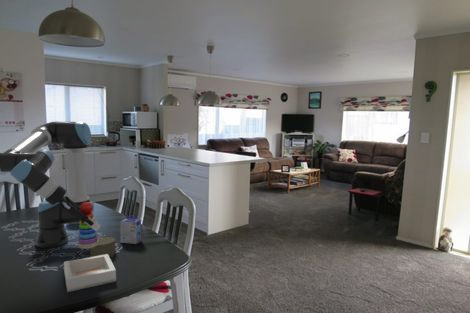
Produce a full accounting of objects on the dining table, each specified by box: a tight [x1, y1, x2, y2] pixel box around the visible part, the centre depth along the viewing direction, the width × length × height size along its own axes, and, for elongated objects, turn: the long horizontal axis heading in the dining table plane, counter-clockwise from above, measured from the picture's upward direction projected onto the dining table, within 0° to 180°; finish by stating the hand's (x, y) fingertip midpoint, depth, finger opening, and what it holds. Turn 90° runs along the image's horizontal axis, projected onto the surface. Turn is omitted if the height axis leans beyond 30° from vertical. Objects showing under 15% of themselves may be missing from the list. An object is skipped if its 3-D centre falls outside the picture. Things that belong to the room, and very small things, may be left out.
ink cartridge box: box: [120, 214, 142, 245], centre depth 178 cm, size 10×6×14 cm, turn 78°
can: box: [89, 235, 116, 257], centre depth 163 cm, size 12×12×7 cm
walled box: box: [63, 254, 117, 293], centre depth 139 cm, size 18×18×5 cm
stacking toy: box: [77, 202, 99, 250], centre depth 136 cm, size 8×8×19 cm
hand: (97, 226), depth 138 cm, fingers closed on stacking toy, 6 cm apart
